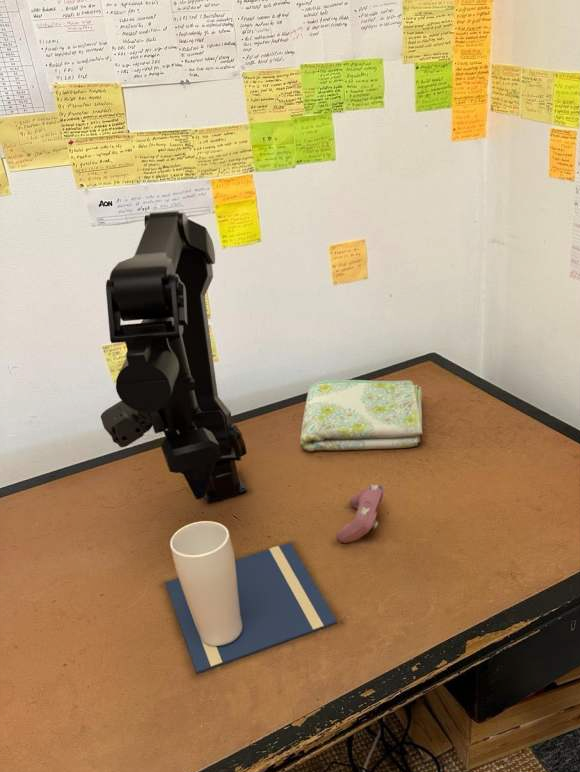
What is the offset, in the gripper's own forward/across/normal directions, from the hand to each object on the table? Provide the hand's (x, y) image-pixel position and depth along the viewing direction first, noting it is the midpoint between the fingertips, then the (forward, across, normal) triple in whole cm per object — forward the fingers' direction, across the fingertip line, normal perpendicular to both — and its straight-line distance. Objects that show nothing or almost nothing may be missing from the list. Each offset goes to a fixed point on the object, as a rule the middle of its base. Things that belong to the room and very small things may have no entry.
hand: (191, 480), depth 98 cm
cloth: (+13, +12, +2) cm, 18 cm away
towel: (+13, -23, +34) cm, 43 cm away
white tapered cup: (+13, +16, -3) cm, 21 cm away
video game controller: (+13, +4, +22) cm, 26 cm away
